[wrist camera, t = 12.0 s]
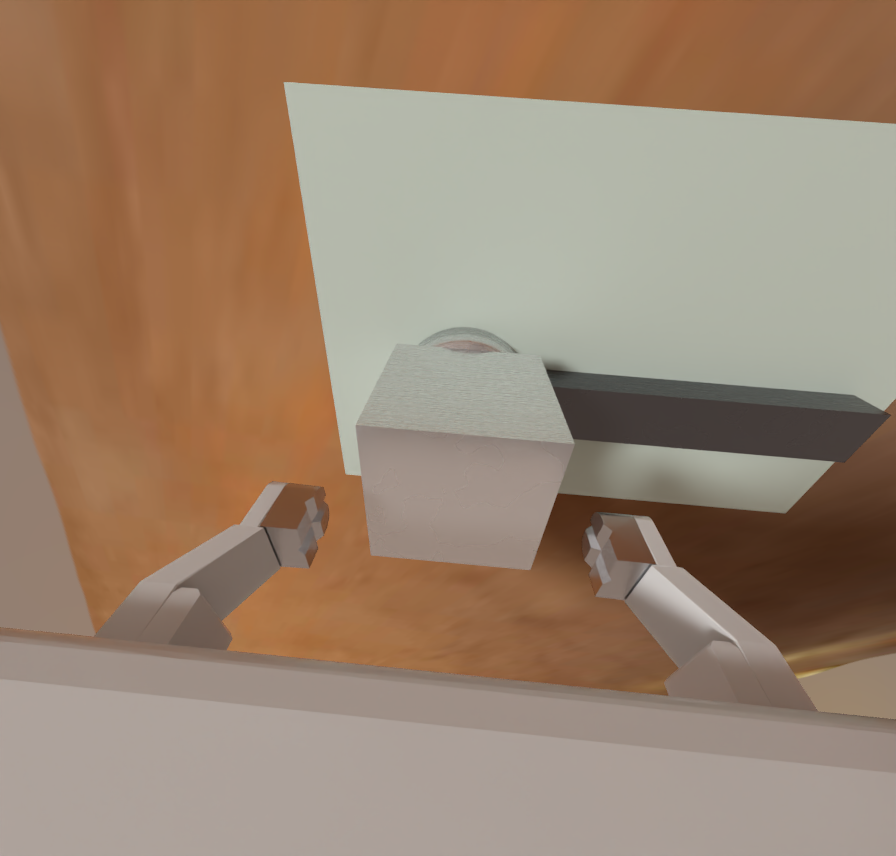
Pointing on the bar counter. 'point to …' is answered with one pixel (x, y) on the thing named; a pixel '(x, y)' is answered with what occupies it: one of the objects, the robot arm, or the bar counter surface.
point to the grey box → (461, 456)
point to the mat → (606, 257)
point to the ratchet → (698, 411)
